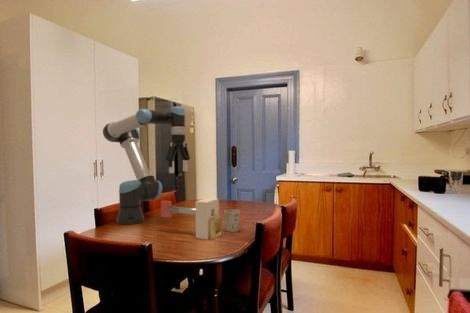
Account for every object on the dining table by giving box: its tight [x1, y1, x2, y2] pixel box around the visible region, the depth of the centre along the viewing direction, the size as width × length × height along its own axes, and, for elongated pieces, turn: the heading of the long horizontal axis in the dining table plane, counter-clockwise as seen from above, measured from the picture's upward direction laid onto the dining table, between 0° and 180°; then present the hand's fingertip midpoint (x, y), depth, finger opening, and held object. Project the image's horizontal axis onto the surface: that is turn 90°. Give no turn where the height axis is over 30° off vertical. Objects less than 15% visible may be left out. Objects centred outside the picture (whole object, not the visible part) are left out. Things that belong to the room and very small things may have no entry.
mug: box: [223, 208, 241, 233], centre depth 152 cm, size 8×13×10 cm, turn 27°
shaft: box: [160, 200, 196, 218], centre depth 146 cm, size 27×3×8 cm, turn 67°
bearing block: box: [195, 197, 220, 240], centre depth 141 cm, size 6×12×17 cm, turn 157°
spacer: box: [209, 215, 223, 240], centre depth 139 cm, size 2×9×9 cm, turn 157°
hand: (178, 172), depth 166 cm, fingers open, 13 cm apart
